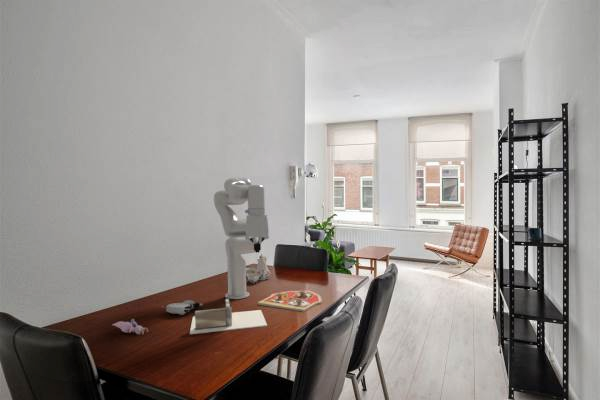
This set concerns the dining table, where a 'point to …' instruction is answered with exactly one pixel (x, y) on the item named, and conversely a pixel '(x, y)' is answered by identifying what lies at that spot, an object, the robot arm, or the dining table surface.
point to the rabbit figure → (130, 327)
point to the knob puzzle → (292, 300)
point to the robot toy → (181, 307)
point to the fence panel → (227, 303)
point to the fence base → (213, 318)
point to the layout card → (235, 322)
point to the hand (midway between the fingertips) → (257, 252)
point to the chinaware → (258, 271)
